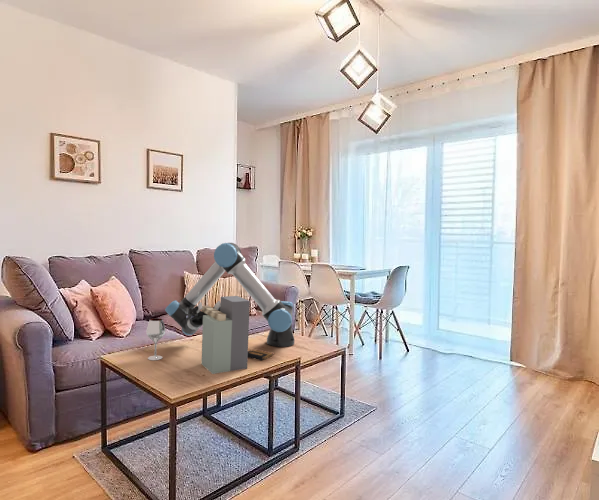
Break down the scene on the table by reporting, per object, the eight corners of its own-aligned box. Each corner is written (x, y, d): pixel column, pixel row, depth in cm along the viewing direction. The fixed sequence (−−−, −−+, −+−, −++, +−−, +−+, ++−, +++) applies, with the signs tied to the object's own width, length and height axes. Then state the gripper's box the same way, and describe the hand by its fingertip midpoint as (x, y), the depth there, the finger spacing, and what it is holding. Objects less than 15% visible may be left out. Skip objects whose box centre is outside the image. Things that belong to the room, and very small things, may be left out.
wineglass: (157, 354, 192) (158, 316, 191) (168, 358, 187) (169, 319, 186) (142, 358, 185) (143, 319, 184) (152, 362, 180) (153, 322, 179)
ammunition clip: (243, 352, 194) (258, 347, 204) (243, 356, 194) (257, 351, 204) (262, 356, 188) (275, 351, 199) (261, 360, 188) (275, 355, 199)
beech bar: (201, 311, 189) (201, 305, 188) (207, 310, 190) (208, 305, 190) (218, 321, 170) (219, 315, 170) (225, 320, 172) (225, 314, 172)
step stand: (201, 364, 181) (203, 297, 179) (234, 359, 189) (236, 295, 188) (212, 373, 169) (214, 302, 168) (247, 368, 177) (249, 300, 176)
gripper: (217, 325, 203) (233, 310, 185) (176, 329, 192) (188, 314, 175) (215, 311, 206) (230, 295, 188) (174, 314, 195) (186, 298, 177)
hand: (210, 304), depth 181 cm, fingers open, 8 cm apart
